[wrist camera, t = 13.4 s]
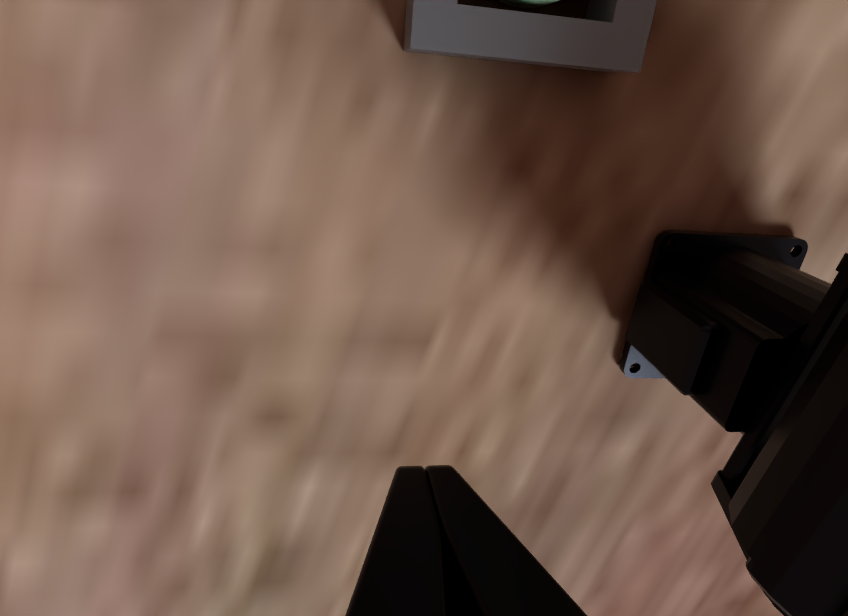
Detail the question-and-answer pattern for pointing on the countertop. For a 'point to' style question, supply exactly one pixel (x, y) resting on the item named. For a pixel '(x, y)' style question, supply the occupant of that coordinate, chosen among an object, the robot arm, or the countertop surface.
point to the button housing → (534, 34)
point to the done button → (527, 3)
